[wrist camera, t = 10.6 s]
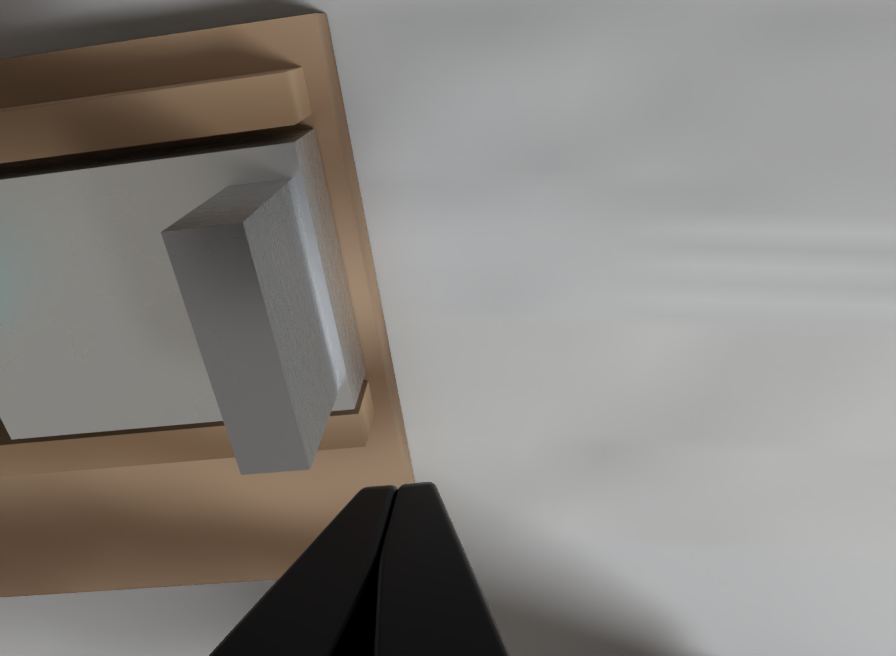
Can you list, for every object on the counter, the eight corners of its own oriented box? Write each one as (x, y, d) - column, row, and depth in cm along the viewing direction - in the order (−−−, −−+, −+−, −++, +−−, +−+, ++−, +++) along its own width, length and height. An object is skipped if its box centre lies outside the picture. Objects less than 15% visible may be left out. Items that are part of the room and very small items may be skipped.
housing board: (426, 542, 22) (419, 611, 19) (-70, 576, 23) (-136, 644, 21) (326, 12, 15) (295, 12, 12) (-366, 114, 16) (-518, 132, 14)
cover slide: (366, 372, 17) (327, 496, 13) (52, 401, 18) (-86, 528, 14) (314, 128, 15) (242, 178, 10) (-52, 175, 16) (-266, 241, 11)
